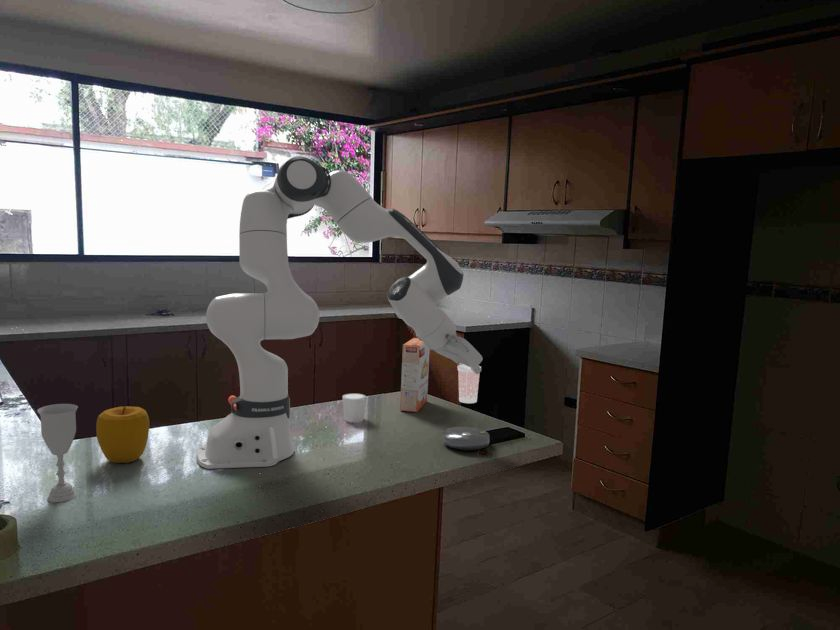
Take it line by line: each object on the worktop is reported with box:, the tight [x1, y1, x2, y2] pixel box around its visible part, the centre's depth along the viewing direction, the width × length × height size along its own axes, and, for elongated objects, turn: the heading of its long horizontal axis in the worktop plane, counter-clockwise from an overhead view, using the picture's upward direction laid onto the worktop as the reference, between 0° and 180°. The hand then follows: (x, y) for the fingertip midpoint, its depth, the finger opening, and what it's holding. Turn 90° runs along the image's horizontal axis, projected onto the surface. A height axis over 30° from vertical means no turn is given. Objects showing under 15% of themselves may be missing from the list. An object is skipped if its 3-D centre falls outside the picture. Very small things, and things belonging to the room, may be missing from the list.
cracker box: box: [399, 337, 431, 413], centre depth 191 cm, size 14×6×21 cm, turn 167°
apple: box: [95, 406, 151, 464], centre depth 140 cm, size 11×11×13 cm
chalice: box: [37, 403, 79, 503], centre depth 120 cm, size 7×7×18 cm
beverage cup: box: [456, 364, 482, 404], centre depth 156 cm, size 6×6×14 cm
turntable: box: [442, 426, 490, 452], centre depth 158 cm, size 12×12×3 cm
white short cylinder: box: [341, 392, 367, 423], centre depth 177 cm, size 7×7×7 cm
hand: (471, 368), depth 156 cm, fingers closed on beverage cup, 6 cm apart
